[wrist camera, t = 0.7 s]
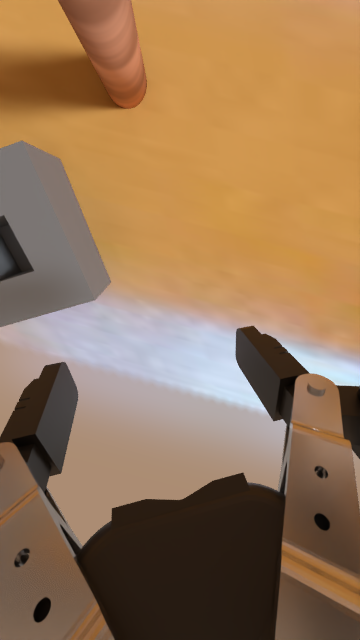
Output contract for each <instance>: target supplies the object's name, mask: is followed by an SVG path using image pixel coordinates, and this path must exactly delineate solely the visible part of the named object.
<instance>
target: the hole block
mask: <svg viewBox="0 0 360 640" xmlns="http://www.w3.org/2000/svg"><path fill="white" fill-rule="evenodd" d="M110 283H111V281H110V278H109V276H108V273H107V271H106V269H105V266H104V264H103V261H102V259H101V257H100V254H99V252H98V249H97V247H96V245H95V242H94V240H93V237H92V235H91V232H90V230H89V228H88V225H87V223H86V220H85V218H84V216H83V213H82V211H81V208H80V206H79V203H78V201H77V199H76V196H75V194H74V191H73V189H72V187H71V184H70V182H69V179H68V177H67V174H66V172H65V170H64V167H63V165H62V162H61V160H60V159H59V158H57V157H55V156H53V155H51V154H49V153H46V152H44V151H42V150H40V149H38V148H36V147H34V146H32V145H30V144H28V143H26V142H24V141H20V142H17V143H14V144H11V145H9V146H6V147H3V148H0V327H2V326H6V325H9V324H13V323H16V322H20V321H23V320H27V319H30V318H34V317H37V316H41V315H44V314H48V313H51V312H55V311H58V310H62V309H65V308H69V307H72V306H76V305H79V304H83V303H86V302H90V301H93V300H95V299H96V298H97V297H98V296H99V295H100V294H101V293H102V292H103V291H104V289H105V288H106V287H107V286H108V285H109V284H110Z"/></svg>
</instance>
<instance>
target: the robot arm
mask: <svg viewBox="0 0 360 640" xmlns="http://www.w3.org/2000/svg"><path fill="white" fill-rule="evenodd" d="M236 360H237V363H238V365H239V367H240V369H241V370H242V372H243V374H244V375H245V377H246V378H247V380H248V381H249V383H250V385H251V386H252V388H253V389H254V391H255V393H256V394H257V396H258V397H259V399H260V400H261V402H262V404H263V405H264V407H265V408H266V410H267V412H268V413H269V415H270V416H271V418H272V419H273V421H277V420H281V419H283V420H284V421H285V423H286V424H287V425H286V431H285V439H284V448H283V457H282V465H281V473H280V479H279V485H278V491H277V490H274V489H272V488H270V487H267V486H264V485H261V484H256V483H247V481H246V478H245V476H244V473H240V474H236V475H232V476H229V477H225V478H222V479H218V480H214V481H212V482H210V483H209V484H207V485H205V486H204V487H202V488H201V489H199V490H197V491H196V492H194V493H193V494H191V495H189V496H188V497H186V498H184V499H182V500H155V499H145V500H141V501H137V502H134V503H131V504H127V505H123V506H119V507H116V508H112V521H110V522H109V523H107V524H106V525H104V526H103V527H102V528H101V529H100V530H98V531H97V532H96V533H95V534H94V535H93V536H92V537H91V538H90V539H89V540H88V541H87V543H86V544H85V545H84V546H82V545H81V543H80V541H79V540H78V539H77V537H76V536H75V534H74V533H73V531H72V529H71V528H70V526H69V524H68V522H67V521H66V519H65V517H64V515H63V514H62V512H61V510H60V509H59V507H58V505H57V503H56V502H55V500H54V498H53V496H52V495H51V493H50V492H49V489H48V488H47V482H48V479H49V476H53V475H57V474H61V472H62V467H63V463H64V458H65V454H66V450H67V445H68V441H69V436H70V432H71V428H72V423H73V419H74V414H75V410H76V406H77V401H78V391H77V387H76V385H75V383H74V380H73V378H72V376H71V373H70V371H69V369H68V366H67V364H66V363H65V362H61V363H56V364H51V365H46V366H45V367H44V368H43V371H42V373H41V375H40V377H39V379H34V380H33V381H32V382H31V383H30V384H29V385H28V386H27V387H26V388H25V389H24V391H23V393H22V395H21V397H20V399H19V402H18V403H17V405H16V407H15V411H13V413H12V415H11V417H10V419H9V421H8V423H7V425H6V427H5V429H4V431H3V433H2V434H1V437H0V640H360V509H359V501H358V493H357V486H356V478H355V470H354V462H353V454H352V450H353V451H354V452H355V453H356V455H357V456H358V457H359V459H360V386H337V385H335V384H334V383H333V382H332V381H331V380H329V379H327V378H325V377H323V376H321V375H317V374H310V373H309V372H308V371H307V370H306V369H305V368H304V367H303V366H302V365H301V364H300V363H299V362H298V361H297V360H296V359H295V358H294V357H293V356H292V355H291V354H290V353H288V351H287V350H286V349H285V348H284V347H282V345H281V344H280V343H279V342H278V341H277V340H276V339H275V338H273V337H271V336H269V335H267V334H261V333H260V332H259V331H258V330H257V329H256V328H255V327H254V326H249V327H244V328H239V329H237V331H236Z"/></svg>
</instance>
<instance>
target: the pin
mask: <svg viewBox="0 0 360 640" xmlns="http://www.w3.org/2000/svg"><path fill="white" fill-rule="evenodd" d="M58 1H59V3H60V5H61V7H62V9H63V10H64V12H65V14H66V16H67V18H68V20H69V22H70V23H71V25H72V27H73V29H74V31H75V33H76V35H77V36H78V38H79V40H80V42H81V44H82V46H83V48H84V49H85V51H86V53H87V55H88V57H89V59H90V61H91V62H92V64H93V66H94V68H95V70H96V72H97V74H98V75H99V77H100V79H101V81H102V83H103V85H104V87H105V88H106V90H107V92H108V94H109V96H110V97H111V99H112V100H113V101H114V102H115V103H116V104H117V105H118V106H120V107H122V108H133V107H136V106H137V105H138V104H140V102H141V101H142V100H143V98H144V96H145V93H146V87H147V80H146V74H145V69H144V64H143V59H142V54H141V49H140V44H139V39H138V34H137V28H136V23H135V18H134V13H133V8H132V3H131V0H58Z"/></svg>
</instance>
